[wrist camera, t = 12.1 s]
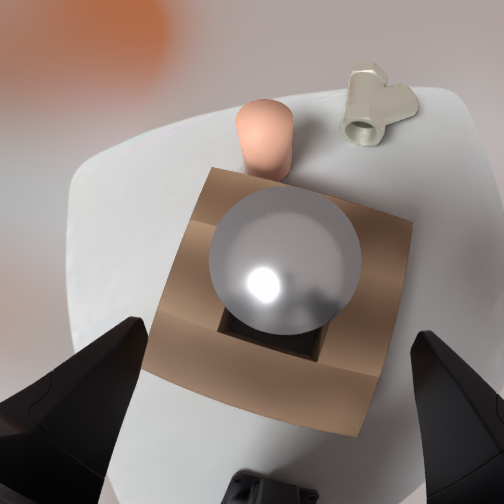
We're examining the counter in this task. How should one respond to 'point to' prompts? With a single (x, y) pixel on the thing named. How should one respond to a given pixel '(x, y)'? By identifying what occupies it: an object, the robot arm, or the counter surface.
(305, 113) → the counter surface
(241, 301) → the tall metal pin
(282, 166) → the short terracotta pin
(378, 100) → the pipe fitting
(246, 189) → the walnut block
